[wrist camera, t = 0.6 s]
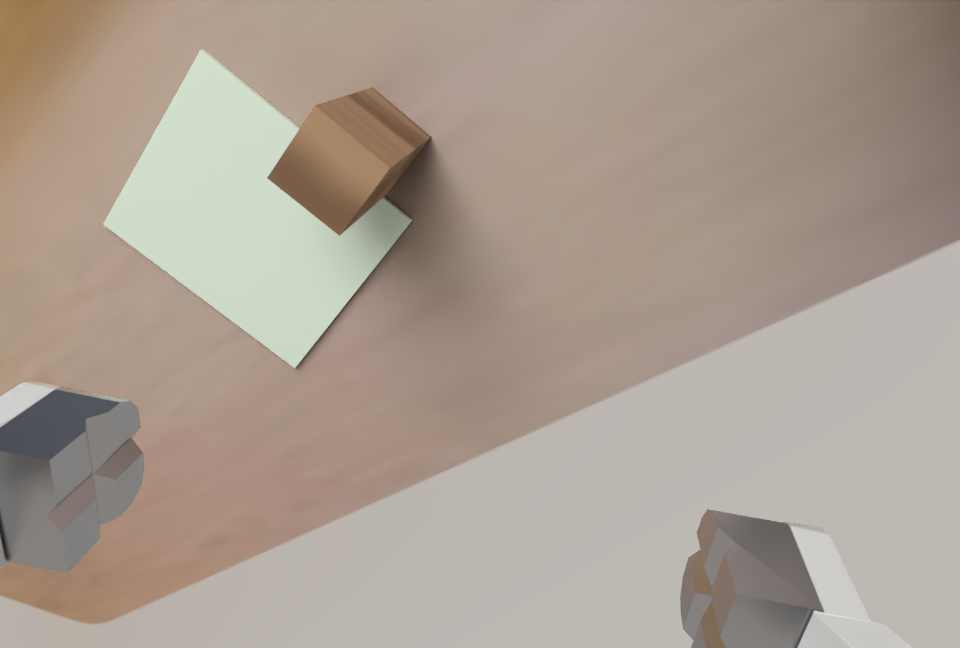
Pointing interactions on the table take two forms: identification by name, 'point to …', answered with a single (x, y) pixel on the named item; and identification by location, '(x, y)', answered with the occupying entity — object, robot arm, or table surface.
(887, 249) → the table surface
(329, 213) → the block
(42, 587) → the table surface
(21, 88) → the table surface
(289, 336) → the mat
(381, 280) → the table surface
